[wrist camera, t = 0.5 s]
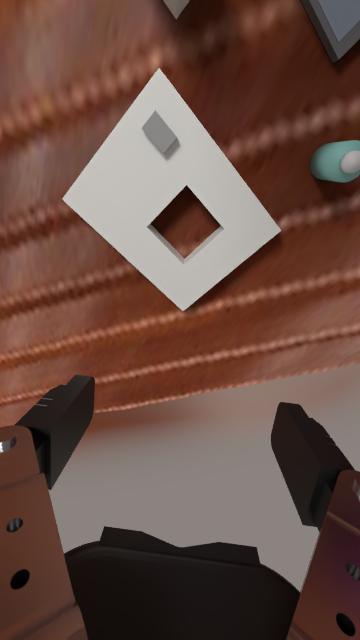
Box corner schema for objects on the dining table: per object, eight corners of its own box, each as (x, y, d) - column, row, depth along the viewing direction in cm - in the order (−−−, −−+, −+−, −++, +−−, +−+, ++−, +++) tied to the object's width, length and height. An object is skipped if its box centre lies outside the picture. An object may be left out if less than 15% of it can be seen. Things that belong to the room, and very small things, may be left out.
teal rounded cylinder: (303, 161, 30) (327, 161, 25) (332, 134, 29) (364, 129, 24) (319, 186, 31) (345, 191, 26) (348, 162, 30) (380, 162, 25)
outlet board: (70, 196, 33) (59, 200, 30) (161, 75, 27) (158, 65, 24) (183, 303, 40) (182, 314, 37) (275, 226, 34) (283, 232, 31)
